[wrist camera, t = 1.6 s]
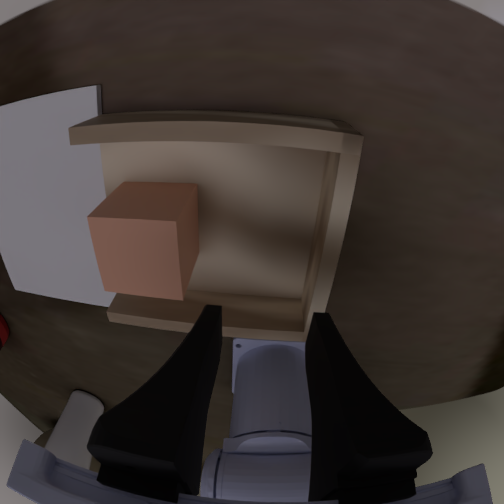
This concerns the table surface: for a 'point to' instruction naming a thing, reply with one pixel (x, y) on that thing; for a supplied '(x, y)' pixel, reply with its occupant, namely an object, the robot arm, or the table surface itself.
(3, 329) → the canned food
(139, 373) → the table surface
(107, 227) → the block
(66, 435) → the drinking glass
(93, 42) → the table surface
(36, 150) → the mat
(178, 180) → the open box
